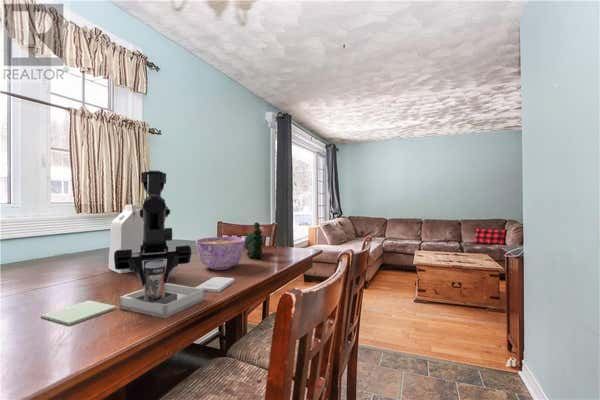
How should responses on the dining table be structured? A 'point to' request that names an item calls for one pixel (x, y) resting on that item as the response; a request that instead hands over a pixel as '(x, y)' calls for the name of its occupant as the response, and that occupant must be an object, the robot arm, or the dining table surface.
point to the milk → (125, 235)
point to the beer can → (154, 281)
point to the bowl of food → (220, 251)
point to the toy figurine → (254, 243)
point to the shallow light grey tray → (163, 301)
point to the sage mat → (78, 312)
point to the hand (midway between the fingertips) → (154, 284)
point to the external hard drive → (216, 284)
